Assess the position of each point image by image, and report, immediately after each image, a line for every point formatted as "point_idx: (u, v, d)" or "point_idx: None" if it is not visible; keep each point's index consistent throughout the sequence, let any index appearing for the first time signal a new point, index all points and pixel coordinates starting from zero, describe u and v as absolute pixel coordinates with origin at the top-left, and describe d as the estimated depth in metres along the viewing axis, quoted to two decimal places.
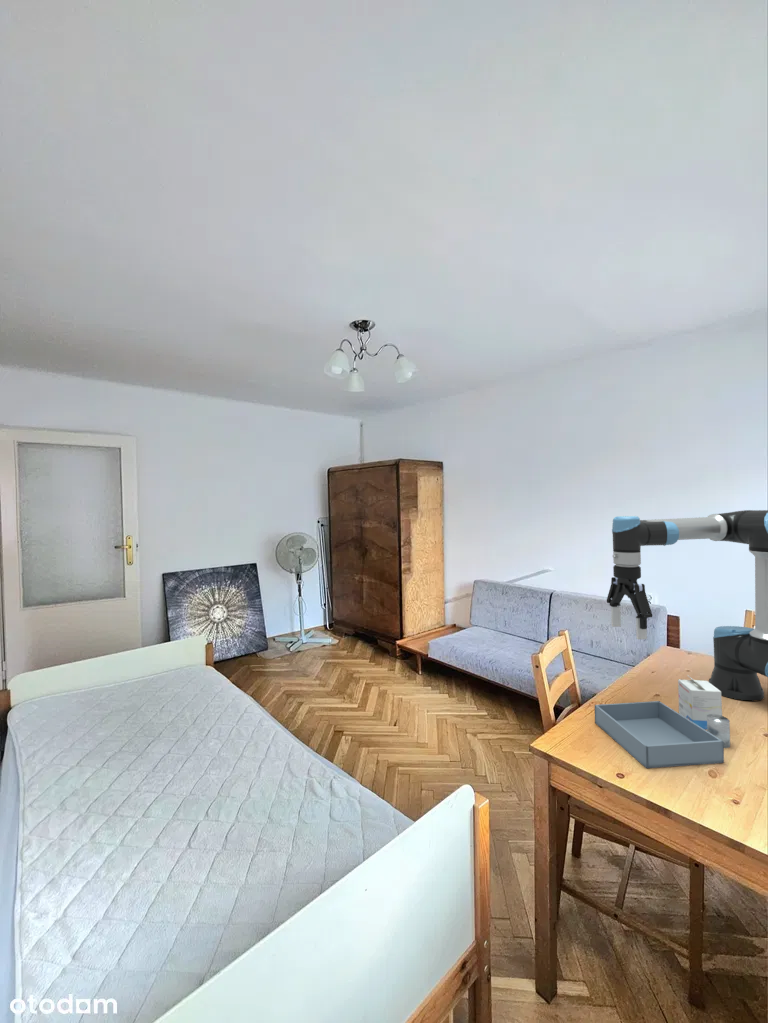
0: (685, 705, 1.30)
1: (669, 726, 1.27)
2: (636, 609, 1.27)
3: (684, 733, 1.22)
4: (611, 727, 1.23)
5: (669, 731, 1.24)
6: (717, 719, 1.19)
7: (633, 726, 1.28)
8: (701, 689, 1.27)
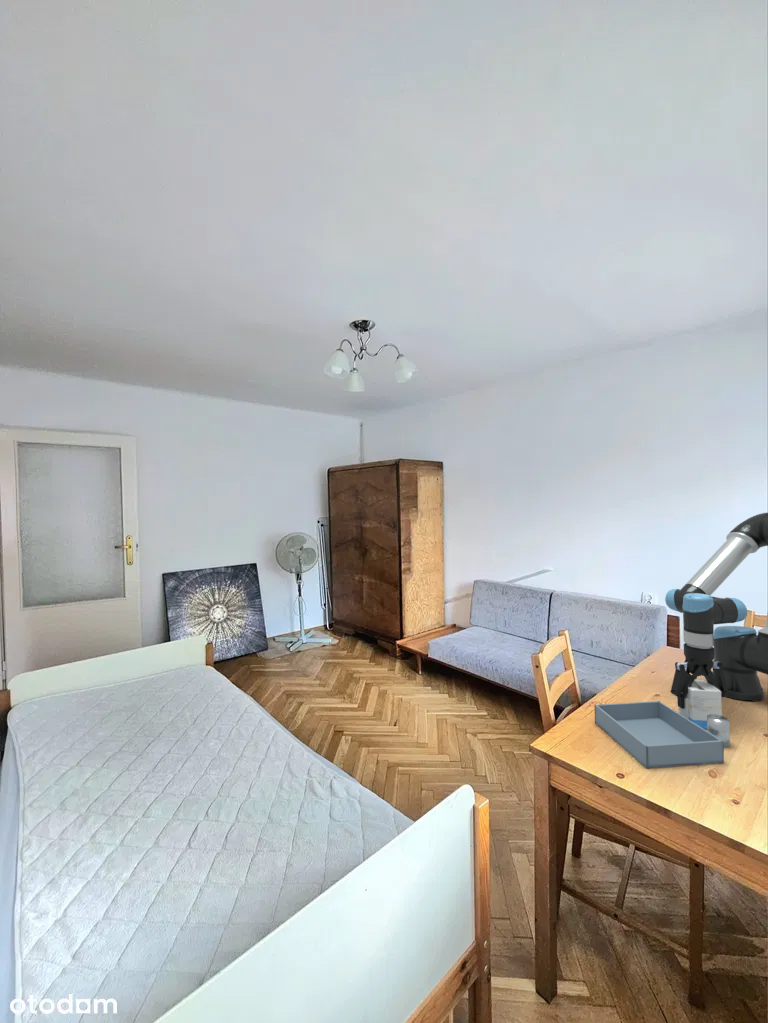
0: None
1: (669, 726, 1.27)
2: None
3: (684, 733, 1.22)
4: (611, 727, 1.23)
5: (669, 731, 1.24)
6: (717, 719, 1.19)
7: (633, 726, 1.28)
8: (701, 689, 1.27)
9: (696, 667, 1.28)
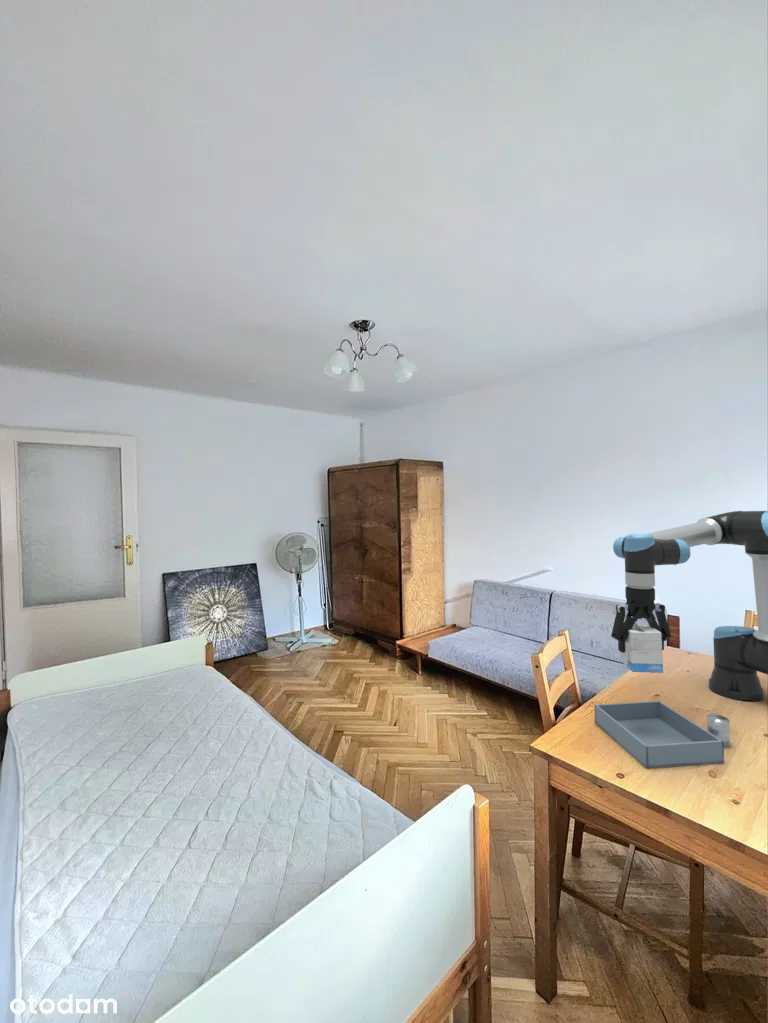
0: None
1: (669, 726, 1.27)
2: None
3: (684, 733, 1.22)
4: (611, 727, 1.23)
5: (669, 731, 1.24)
6: (717, 719, 1.19)
7: (633, 726, 1.28)
8: (641, 631, 1.22)
9: (637, 609, 1.23)
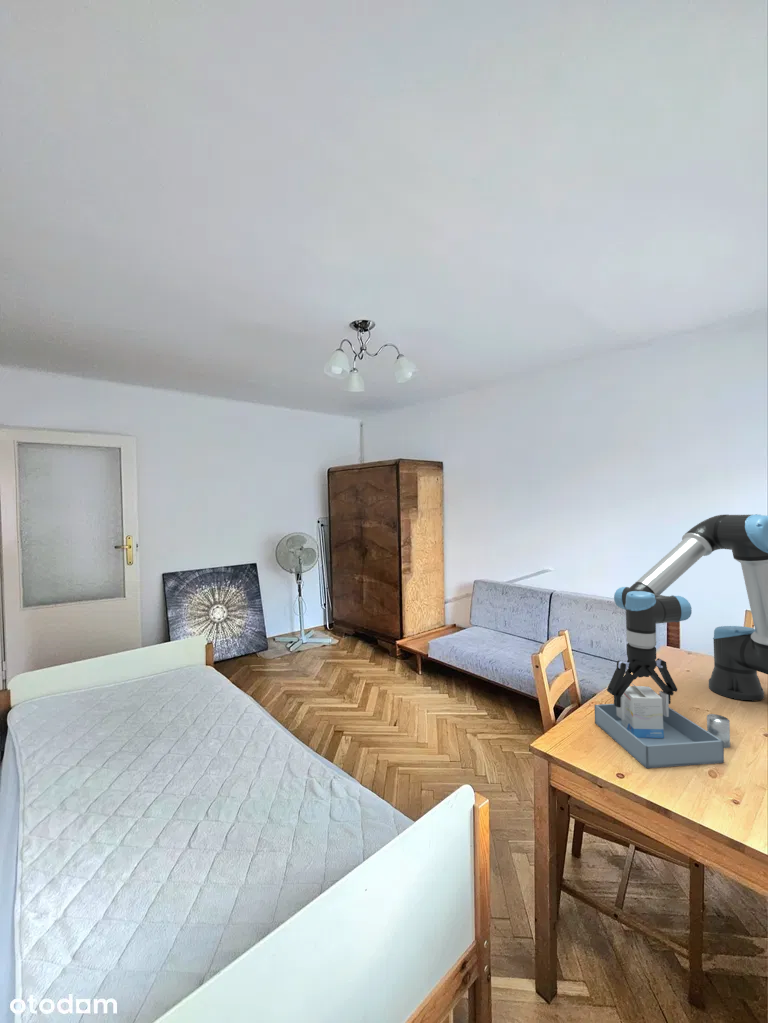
0: (627, 712, 1.25)
1: (669, 726, 1.27)
2: None
3: (684, 733, 1.22)
4: (611, 727, 1.23)
5: (669, 731, 1.24)
6: (717, 719, 1.19)
7: None
8: (642, 696, 1.22)
9: (638, 668, 1.23)
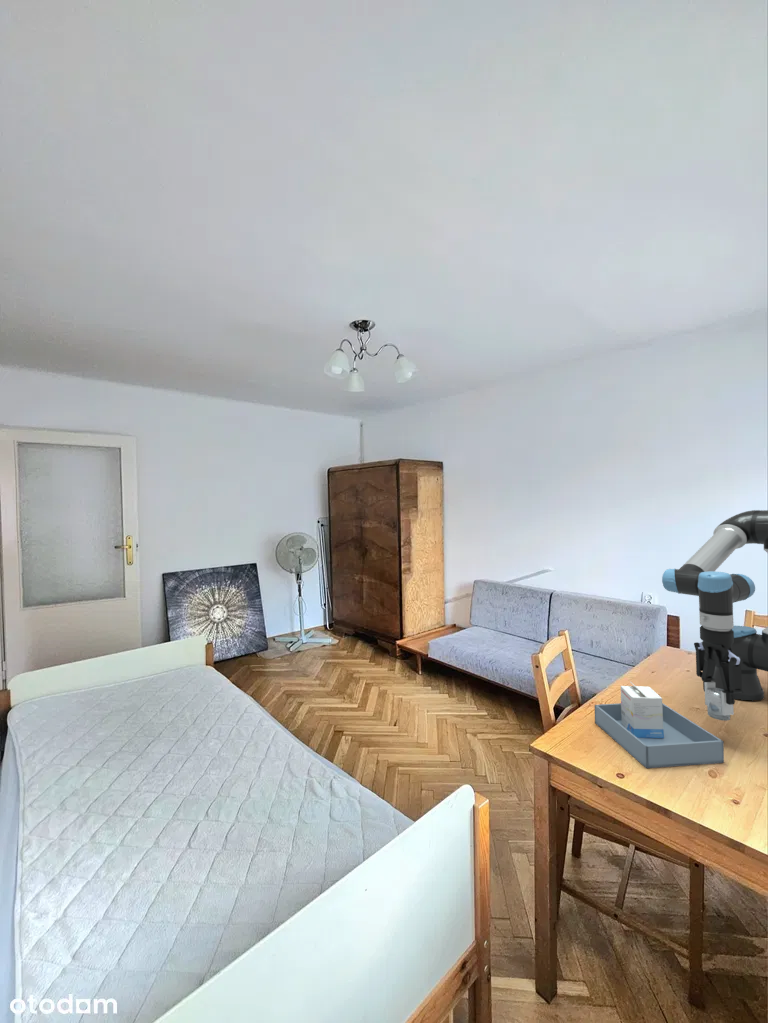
0: (627, 712, 1.25)
1: (669, 726, 1.27)
2: (724, 682, 1.16)
3: (684, 733, 1.22)
4: (611, 727, 1.23)
5: (669, 731, 1.24)
6: (717, 692, 1.19)
7: None
8: (642, 696, 1.22)
9: None
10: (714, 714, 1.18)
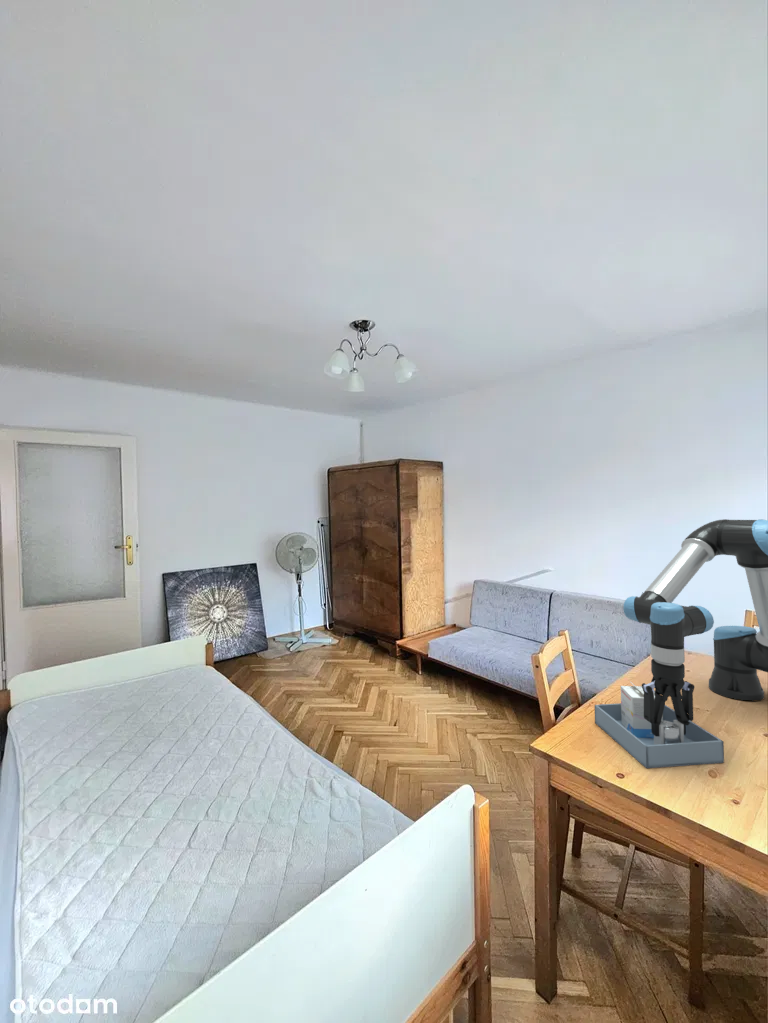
0: (627, 712, 1.25)
1: None
2: None
3: None
4: (611, 727, 1.23)
5: None
6: (665, 724, 1.15)
7: None
8: (642, 696, 1.22)
9: (664, 688, 1.13)
10: None
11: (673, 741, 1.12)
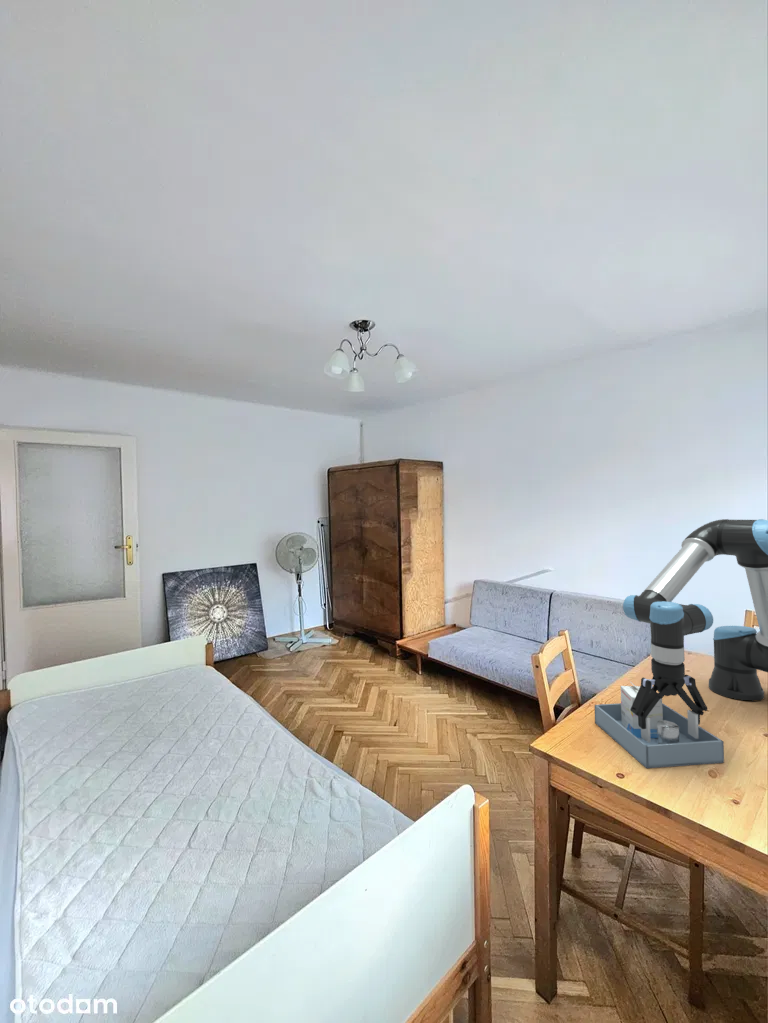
0: (627, 712, 1.25)
1: None
2: None
3: (684, 733, 1.22)
4: (611, 727, 1.23)
5: None
6: (665, 724, 1.15)
7: None
8: None
9: (665, 686, 1.13)
10: None
11: (673, 741, 1.12)
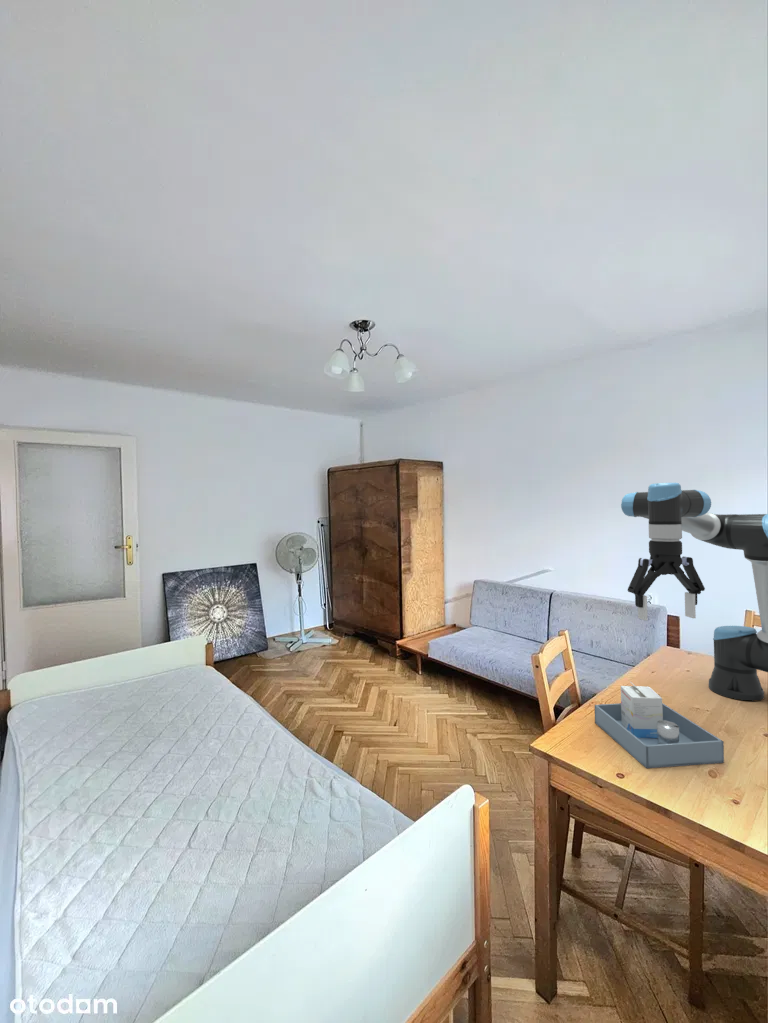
0: (627, 712, 1.25)
1: None
2: None
3: (684, 733, 1.22)
4: (611, 727, 1.23)
5: None
6: (665, 724, 1.15)
7: None
8: (642, 696, 1.22)
9: (662, 564, 1.13)
10: None
11: (673, 741, 1.12)
